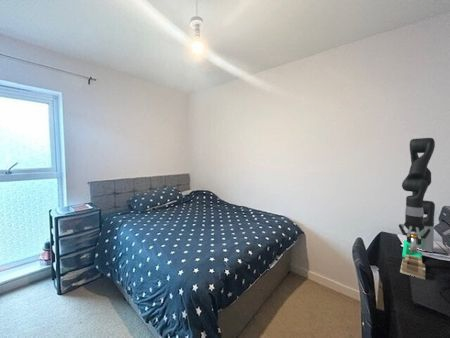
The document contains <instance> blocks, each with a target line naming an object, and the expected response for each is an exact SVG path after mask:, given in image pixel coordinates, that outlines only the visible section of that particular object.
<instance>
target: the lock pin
mask: <svg viewBox="0 0 450 338" xmlns="http://www.w3.org/2000/svg"><path fill="white" fill-rule="evenodd" d="M417 242H418V235H417V234H414V233H410V248H409V250H410V251H411V252H413V253H417V251H418V250H417Z"/></svg>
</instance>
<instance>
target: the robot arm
mask: <svg viewBox="0 0 450 338" xmlns="http://www.w3.org/2000/svg"><path fill="white" fill-rule="evenodd" d="M435 147H436V142H435V139H434V138H433V137H419V138H412V139H410V141H409V154H410V162H411V164H410V167H409V171H408V174H407V176H406V177H405V178H404V180H403V181H402V183H401V187H402V189H403V190H404V191H406V192H411V195H407V196H406V198H405V211H404V213H405V214H404V215H405V217H404V218H405V219H404V221H405V222H404V223H403V224H402V223H399V224H398V227H399V230H400V231H401V233H402V236H405V237H406V240H407V242H408V243H410V234H412V233H413V234H417V235H418V242H417V248H419V249H422V250H425V251H433V252H434V245H435V243H434V241H435V240H434V238H435V237H434V236H435V234H434V233H435V210H436V203H435V202H434V201H432V200H425V199H424V197H425V194H426V193H427V190H428V187H429V186H430V185H431V184H432V172H431V170H430V168H428V164H429V163H430V160H431V159H432V155H433V154H434V151H435ZM419 154H422V155H421V156H419ZM425 215H426V216H425ZM424 216H425V217H424ZM404 228H406V229H407V232H406V230H405V229H404ZM411 232H412V233H411Z"/></svg>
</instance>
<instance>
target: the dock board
mask: <svg viewBox="0 0 450 338" xmlns="http://www.w3.org/2000/svg"><path fill="white" fill-rule="evenodd" d="M399 273H401V274H404V275H407V276H410V275H411V277H414V276H415V277H414V278H417V279H422V280H426V264H425V263H423V258H422V257H421V258H419V257H415V256H411V255H406V256H405V257H404V258H402V261H401V265H400V270H399Z"/></svg>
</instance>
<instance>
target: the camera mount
mask: <svg viewBox="0 0 450 338" xmlns="http://www.w3.org/2000/svg"><path fill="white" fill-rule="evenodd" d="M402 247H403V248H402V254H401V255H402V258H405V256H406V255H411V256H415V257H419V258H422V257H423V252H422V251H419V250H417V253H413V252H411V251H410V243H408V242H407V239H404V240H403V246H402Z"/></svg>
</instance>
